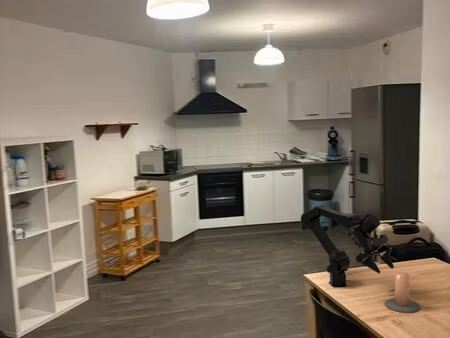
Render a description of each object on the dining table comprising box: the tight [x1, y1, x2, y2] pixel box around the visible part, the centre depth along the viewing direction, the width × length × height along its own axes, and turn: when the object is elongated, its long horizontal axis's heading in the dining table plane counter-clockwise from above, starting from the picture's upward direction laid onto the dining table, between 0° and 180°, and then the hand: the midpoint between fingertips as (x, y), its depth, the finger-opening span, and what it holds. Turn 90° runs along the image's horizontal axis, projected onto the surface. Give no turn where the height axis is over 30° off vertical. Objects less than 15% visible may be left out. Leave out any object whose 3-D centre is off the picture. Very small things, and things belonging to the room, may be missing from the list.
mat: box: [384, 297, 421, 314], centre depth 181 cm, size 13×13×1 cm
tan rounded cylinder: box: [394, 271, 410, 307], centre depth 180 cm, size 5×5×12 cm
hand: (386, 270), depth 185 cm, fingers open, 9 cm apart
